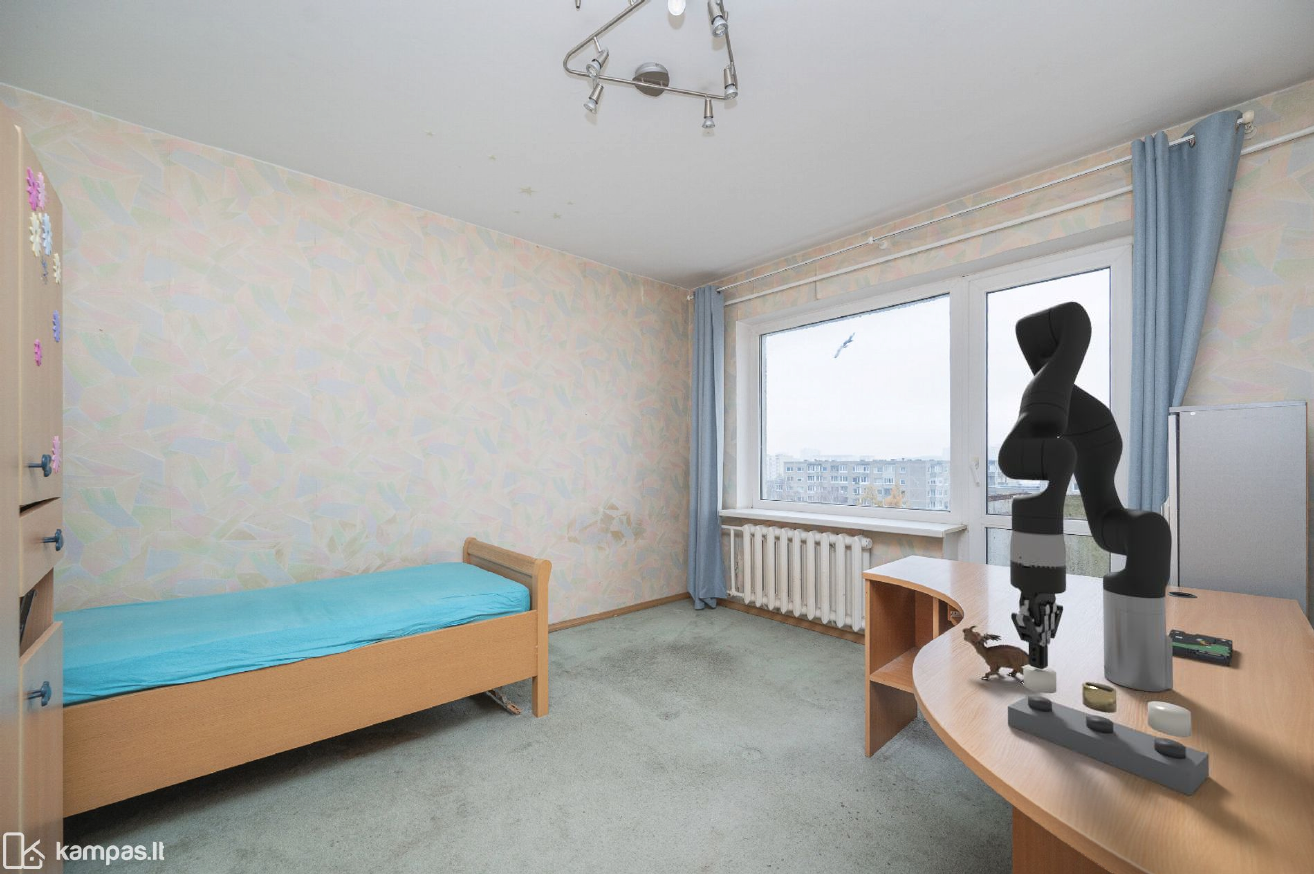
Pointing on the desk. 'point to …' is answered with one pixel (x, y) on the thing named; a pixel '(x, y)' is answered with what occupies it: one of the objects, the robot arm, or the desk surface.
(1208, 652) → the disk drive
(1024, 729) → the control strip
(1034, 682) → the cream knob
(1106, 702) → the brass dial
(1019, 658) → the dinosaur figurine
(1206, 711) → the desk surface
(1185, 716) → the cream knob
